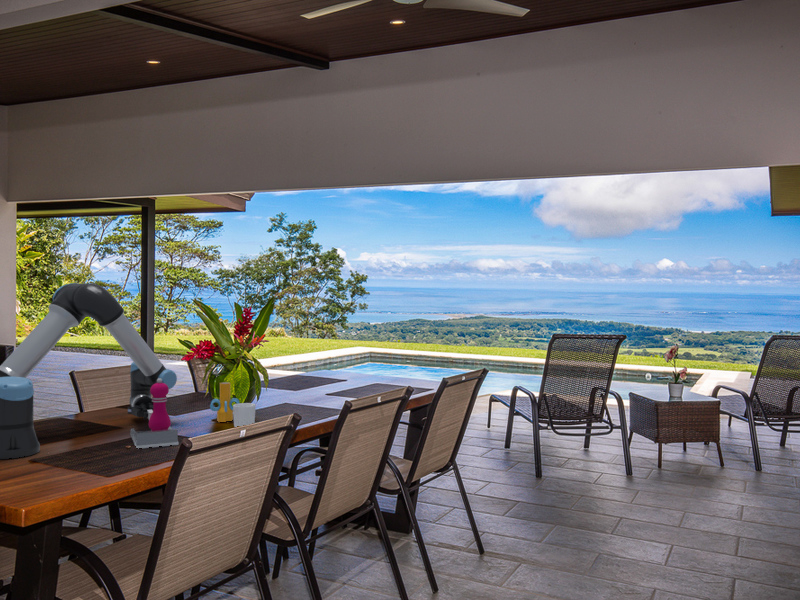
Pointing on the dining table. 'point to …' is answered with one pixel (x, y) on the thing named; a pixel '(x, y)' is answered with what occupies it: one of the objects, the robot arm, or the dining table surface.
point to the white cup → (244, 414)
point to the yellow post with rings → (224, 404)
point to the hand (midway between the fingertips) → (151, 416)
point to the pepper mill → (159, 407)
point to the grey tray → (154, 438)
